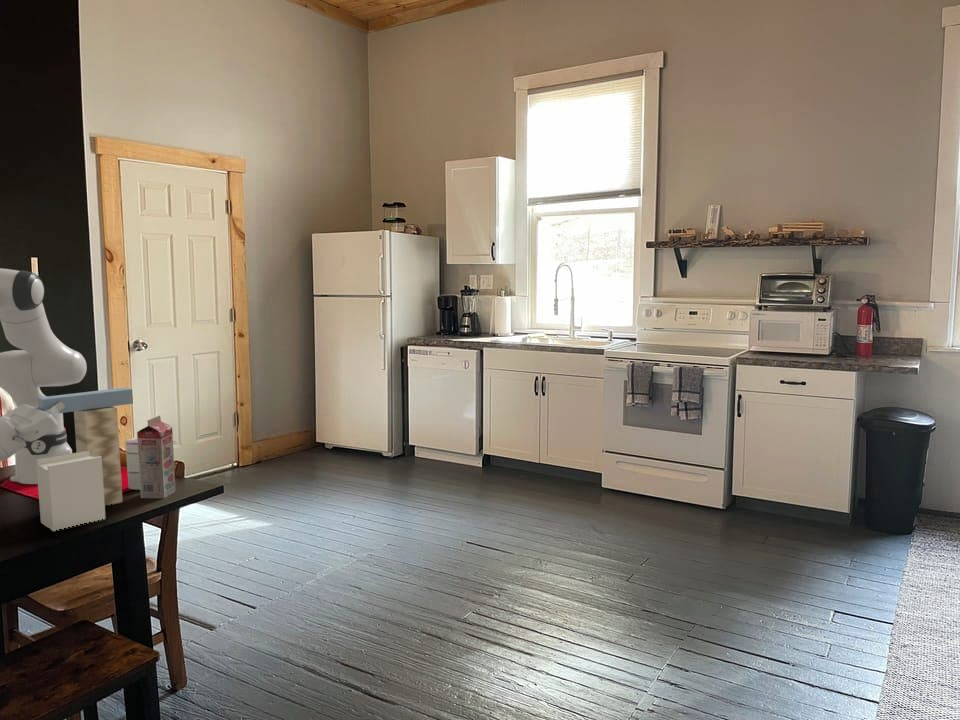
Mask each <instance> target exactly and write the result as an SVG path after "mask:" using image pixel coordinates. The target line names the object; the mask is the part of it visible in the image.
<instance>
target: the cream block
mask: <svg viewBox="0 0 960 720" xmlns="http://www.w3.org/2000/svg"><path fill="white" fill-rule="evenodd" d="M36 464H37V478H38V484H37V489H38V500H39V501H38V503H39V512H40V513H39V514H40V515H39V516H40V517H39V519H40V523H41V524H42V525H44V526H45V527H47V528H48V529H49V528H50V529H49V530H51V532H56V530H57V531H60V530H59V529H62V530H65V529H64V528H66V529H69V528H68V527H70V528H73V527H72V526H74V527H77V526H76V525H78V526H81V525H80V524H83V525H85V524H84V523H87V524H90V523H89V522H91V523H94V521H95V522H99V521H103V520H106V506H105V503H104V487H103V471H102V457H101V456H98V457H91V456H90V453H89V451H83V452H77V451H76V452H72V454H66V455H60V456H54V457H48V458H42V459H36ZM102 519H103V520H102ZM98 520H99V521H98Z"/></svg>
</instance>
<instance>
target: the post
mask: <svg viewBox="0 0 960 720" xmlns="http://www.w3.org/2000/svg"><path fill="white" fill-rule="evenodd" d="M73 419H74V421H73V422H74V432H75V433H74V434H75V435H74V436H75V448H76V453H77V452H83V451H89V453H90V456H91V457H98V456H101V457H102V471H103V487H104V503H105V507H106V505H108V506H111V504H112V505H117V504H121V503H123V489H122V486H123V485H122V473H121V471H122V469H121V468H122V467H121V456H120V455H121V454H120V438H119V436H120V435H119V422H118V419H119V418H118V408H117V407H116V406H111V407H103V408H96V409H88V410H80V411H73Z"/></svg>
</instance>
